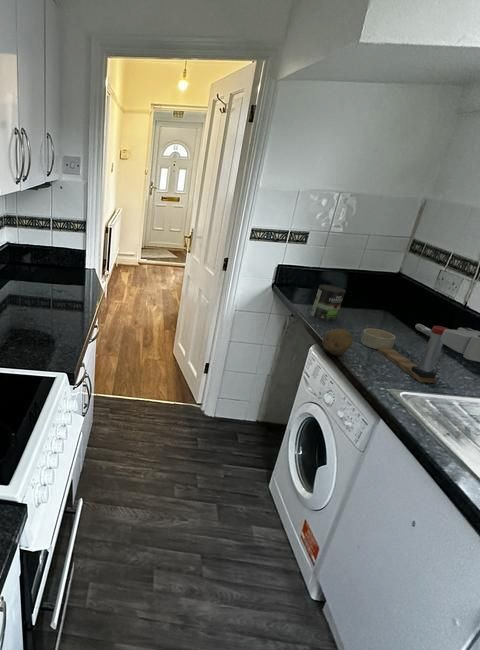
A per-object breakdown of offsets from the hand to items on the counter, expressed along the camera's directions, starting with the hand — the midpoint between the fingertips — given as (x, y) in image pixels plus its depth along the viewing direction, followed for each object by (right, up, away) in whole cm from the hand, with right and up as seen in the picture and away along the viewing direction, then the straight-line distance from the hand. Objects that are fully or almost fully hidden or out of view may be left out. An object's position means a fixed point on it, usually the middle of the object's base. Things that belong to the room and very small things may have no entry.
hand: (462, 330), depth 120 cm
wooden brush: (-1, -12, +22) cm, 25 cm away
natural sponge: (-22, -9, +27) cm, 36 cm away
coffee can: (-7, +6, +62) cm, 63 cm away
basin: (0, -5, +37) cm, 37 cm away
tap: (-1, -13, +17) cm, 21 cm away
